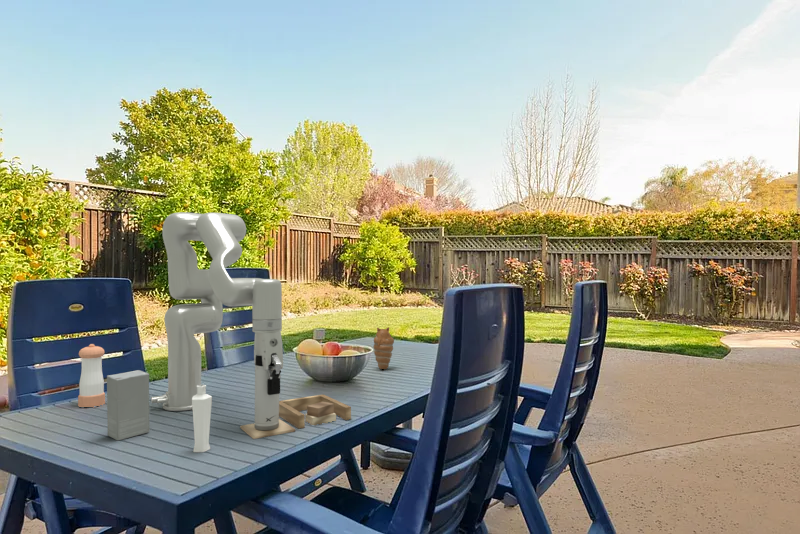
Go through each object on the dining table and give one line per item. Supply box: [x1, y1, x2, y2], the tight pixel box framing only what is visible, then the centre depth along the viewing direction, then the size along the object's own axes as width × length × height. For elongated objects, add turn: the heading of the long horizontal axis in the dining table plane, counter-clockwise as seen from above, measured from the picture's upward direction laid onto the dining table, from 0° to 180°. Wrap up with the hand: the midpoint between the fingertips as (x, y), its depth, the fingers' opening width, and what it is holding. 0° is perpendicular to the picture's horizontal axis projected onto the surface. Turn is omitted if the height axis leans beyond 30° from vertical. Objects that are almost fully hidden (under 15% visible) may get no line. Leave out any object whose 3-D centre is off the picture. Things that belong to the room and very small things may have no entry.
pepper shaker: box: [77, 343, 106, 408], centre depth 163 cm, size 7×7×19 cm
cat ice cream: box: [372, 326, 395, 370], centre depth 219 cm, size 9×8×18 cm
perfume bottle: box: [192, 384, 213, 453], centre depth 122 cm, size 5×4×15 cm
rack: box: [279, 394, 352, 430], centre depth 149 cm, size 16×18×4 cm
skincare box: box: [106, 369, 150, 441], centre depth 133 cm, size 8×7×16 cm
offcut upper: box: [306, 402, 334, 418], centre depth 145 cm, size 6×4×2 cm
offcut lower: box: [304, 413, 337, 426], centre depth 145 cm, size 7×5×2 cm
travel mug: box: [254, 355, 280, 431], centre depth 137 cm, size 6×7×20 cm
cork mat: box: [239, 418, 296, 440], centre depth 137 cm, size 11×11×1 cm
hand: (267, 390), depth 137 cm, fingers open, 9 cm apart
